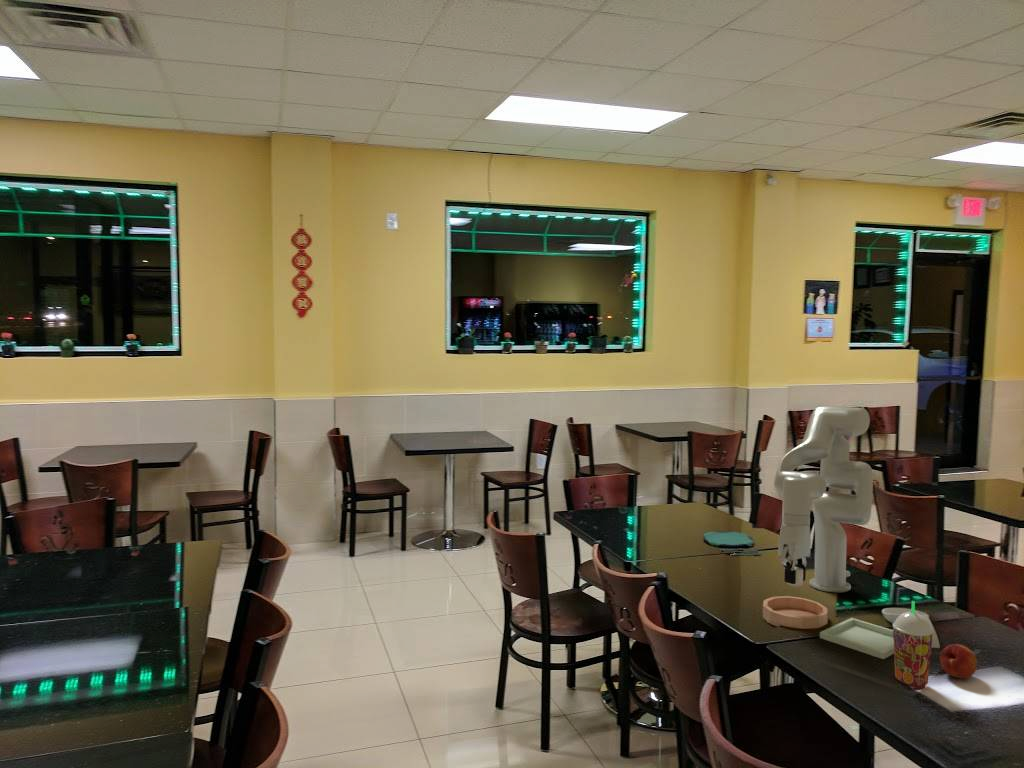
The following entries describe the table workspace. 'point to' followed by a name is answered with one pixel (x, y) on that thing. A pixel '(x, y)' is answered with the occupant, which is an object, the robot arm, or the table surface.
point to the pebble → (798, 577)
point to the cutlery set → (730, 541)
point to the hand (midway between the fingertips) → (794, 580)
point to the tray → (861, 637)
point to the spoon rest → (893, 613)
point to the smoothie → (912, 648)
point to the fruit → (958, 661)
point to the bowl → (794, 612)
